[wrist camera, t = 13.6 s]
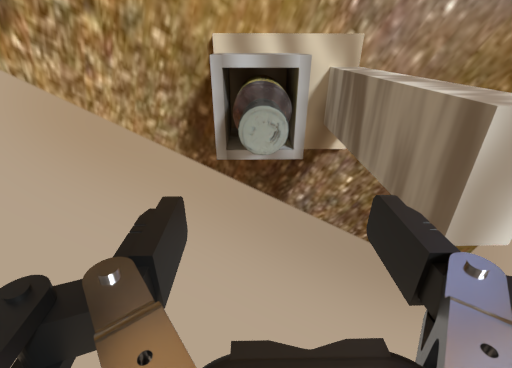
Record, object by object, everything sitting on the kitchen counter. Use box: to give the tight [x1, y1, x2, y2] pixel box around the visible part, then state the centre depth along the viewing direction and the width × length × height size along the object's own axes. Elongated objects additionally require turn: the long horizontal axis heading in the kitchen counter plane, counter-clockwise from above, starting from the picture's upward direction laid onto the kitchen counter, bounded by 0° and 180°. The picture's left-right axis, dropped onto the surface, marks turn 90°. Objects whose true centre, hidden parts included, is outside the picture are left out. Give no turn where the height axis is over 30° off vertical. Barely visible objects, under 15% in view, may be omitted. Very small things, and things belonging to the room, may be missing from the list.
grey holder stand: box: [210, 33, 512, 246], centre depth 27 cm, size 20×16×30 cm
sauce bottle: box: [233, 75, 292, 155], centre depth 30 cm, size 6×6×20 cm
